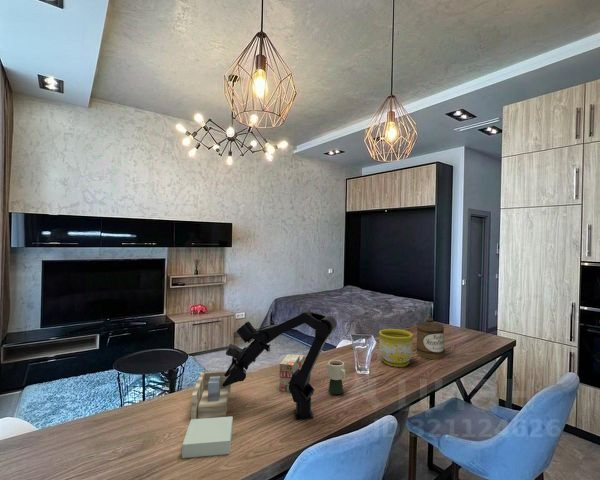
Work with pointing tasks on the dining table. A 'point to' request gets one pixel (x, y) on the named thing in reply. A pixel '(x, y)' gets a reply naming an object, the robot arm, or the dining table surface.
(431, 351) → the wooden container
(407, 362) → the flowerpot
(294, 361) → the stack of blocks
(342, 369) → the character mug
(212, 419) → the pad
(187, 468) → the dining table surface
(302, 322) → the robot arm
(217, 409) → the beige stepped piece
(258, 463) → the dining table surface
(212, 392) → the slate block
